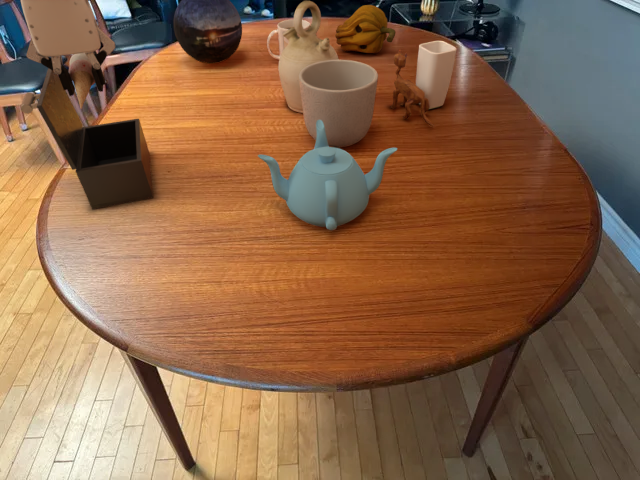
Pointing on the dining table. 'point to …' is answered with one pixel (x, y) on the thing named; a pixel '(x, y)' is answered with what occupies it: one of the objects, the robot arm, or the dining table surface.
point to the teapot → (327, 183)
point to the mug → (282, 40)
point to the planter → (338, 99)
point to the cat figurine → (408, 91)
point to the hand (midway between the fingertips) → (86, 89)
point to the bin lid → (57, 116)
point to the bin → (114, 164)
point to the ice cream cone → (81, 75)
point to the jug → (302, 53)
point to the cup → (435, 71)
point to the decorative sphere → (208, 29)
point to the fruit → (364, 31)
